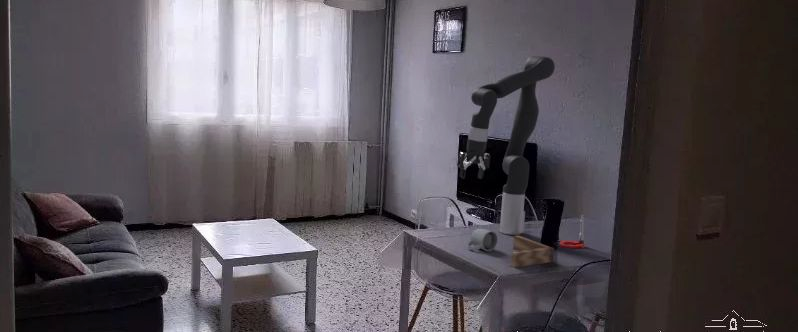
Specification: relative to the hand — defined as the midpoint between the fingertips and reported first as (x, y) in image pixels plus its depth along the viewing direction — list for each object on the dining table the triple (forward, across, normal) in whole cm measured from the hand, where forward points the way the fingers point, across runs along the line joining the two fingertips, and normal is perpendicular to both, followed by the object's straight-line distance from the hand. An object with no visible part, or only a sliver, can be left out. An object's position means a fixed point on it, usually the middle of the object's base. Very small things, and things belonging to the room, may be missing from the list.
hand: (471, 178), depth 243 cm
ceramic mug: (+23, -4, -19) cm, 30 cm away
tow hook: (+21, +35, -26) cm, 48 cm away
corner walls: (+22, +2, -32) cm, 39 cm away
